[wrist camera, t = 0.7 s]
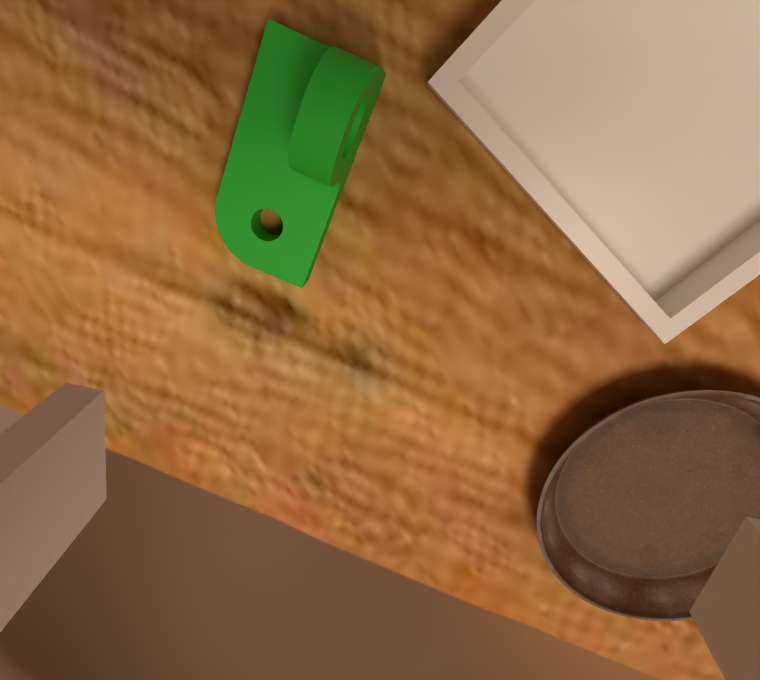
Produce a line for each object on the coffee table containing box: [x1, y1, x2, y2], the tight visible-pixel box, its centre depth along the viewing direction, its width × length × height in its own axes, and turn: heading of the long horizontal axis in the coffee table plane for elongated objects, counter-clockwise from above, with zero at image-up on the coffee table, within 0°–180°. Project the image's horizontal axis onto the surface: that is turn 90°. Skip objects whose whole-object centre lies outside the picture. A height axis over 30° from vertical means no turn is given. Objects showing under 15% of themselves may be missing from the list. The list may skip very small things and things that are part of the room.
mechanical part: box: [215, 19, 386, 288], centre depth 26 cm, size 12×6×8 cm, turn 158°
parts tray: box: [428, 0, 760, 344], centre depth 26 cm, size 18×14×4 cm
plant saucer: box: [537, 390, 760, 621], centre depth 35 cm, size 18×18×3 cm
